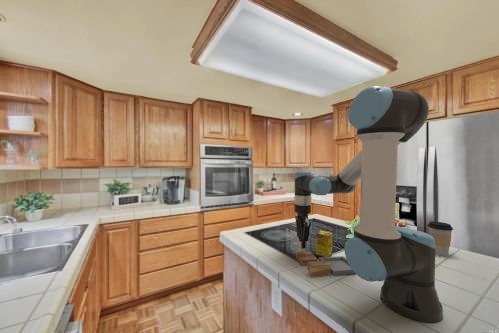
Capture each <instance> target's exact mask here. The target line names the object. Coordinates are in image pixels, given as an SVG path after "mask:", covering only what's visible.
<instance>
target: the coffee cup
mask: <svg viewBox="0 0 499 333" xmlns="http://www.w3.org/2000/svg"><path fill="white" fill-rule="evenodd" d="M427 227H428V228H429V231H428V232H429V235H431V236H432V237H433V238H434V240H435V248H436V250H435V256H438V257H439V256H440V257H449V253H450V247H451V241H452V231H453V230H454V227H453V226H452V225H451V223H446V222H443V221H442V222H441V221H429V223H428V224H427Z"/></svg>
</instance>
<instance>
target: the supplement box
mask: <svg viewBox="0 0 499 333" xmlns="http://www.w3.org/2000/svg"><path fill="white" fill-rule="evenodd" d="M315 236H316V237H315V244H316V245H315V257H318V258H322V257H333V232H329V231H324V230H320V231H318V232H316V234H315Z"/></svg>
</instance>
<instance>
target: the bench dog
mask: <svg viewBox="0 0 499 333" xmlns="http://www.w3.org/2000/svg"><path fill="white" fill-rule="evenodd" d="M330 265H331V264H330V263H329V262H327V261H319V260H318V261H315V262H308V266H307V274H308V275H309V277H310V278H318V277H331V273H330Z"/></svg>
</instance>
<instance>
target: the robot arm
mask: <svg viewBox="0 0 499 333" xmlns="http://www.w3.org/2000/svg"><path fill="white" fill-rule="evenodd" d="M429 111H430V107H429V102H428V101H427V99H426V97H425V96H423V95H422V94H420V93H419V92H417V91H414V90H406V89H399V88H393V87H389V86H387V85H381V86H380V85H379V86H377V85H373V86H372V85H371V86H368V87H365V88H364V89H362V90H361V91H360V92H358V93H357V95H356V96H355V98H353V100H352V102H351V104H350V105H349V109H348V114H347V116H348V118H347V119H348V122H349V123H350V125H351V126H352V127H353V128H354V129H356V138H357V139H358V140H359V141H361V149H360V150H359V151H358V152H357V153H356V154H355V156H354V157H353V158H352V159H351V160H350V161H349V162H348V163H346V165H345V166H344V167H343V168H342V170H340V171H339V173H338V174H336V175H335V176H331V175H330V176H323V175H322V176H321V175H319V176H318V175H317V176H316V175H315V176H314V175H312V172H311V171H307V170H306V171H305V170H304V171H303V170H301V171H300V170H299V171H297V170H296V172H295V173H294V200H293V201H294V202H293V203H294V213H296V214H297V215H295V216H294V218H295V227H296V228H295V229H296V236H297V238H298V252H307V251H306V250H307V242H309V237H310V230H311V225H312V223H311V221H309V214H311V213H312V205H311V204H312V195H316V196H326V195H329V194H330V195H331V194H344V195H345V194H349V193H353V192H354V191H355V190H356V187H357V182H358V181H360V206H359V208H360V209H359V212H360V213H359V223H357V224H356V225H355V226H354V227H353V237H350V238H348V239H347V240H346V241H345V243H344V247H343V248H344V255H345V256H344V257H345V258H346V259H347V262H348V264H349V265H350V267H351V269H352V270H353V271H354V272H355V273H356V274H355V275H357V277H359V278H360V279H362V280H364V281H366V282H370V283H372V282H383V284H382V286H381V287H380V299H381V301H382V303H384V304H385V305H386V306H387V307H388V308H389V309H390V310H392V311H394V312H396V313H397V314H400V315H401V316H404V317H406V318H408V319H412V320H415V321H419V322H424V323H438V322H440V321H441V320H442V319H443V318H444V309H443V308H444V307H443V305H442V303H441V302H440V298H439V295H438V292H437V289H436V254H435V250H436V248H435V240H434V238H433V237H432V236H431V235H430V233H426V232H423V231H420V230H415V229H412V228H408V227H403V226H396V202H397V201H396V200H397V199H396V197H397V176H398V175H397V174H398V171H397V169H398V168H397V167H398V146H399V145H400V144H401V143H402V144H403V143H404V144H405V143H407V142H408V141H409V140H410V139H412V138H413V137H414V136H415V135H416V134H417V133H418V132H419V131H420V130H421V129H422V128H423V126H424V125H425V123H426V121H427V119H428V116H429V113H430V112H429Z"/></svg>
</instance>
